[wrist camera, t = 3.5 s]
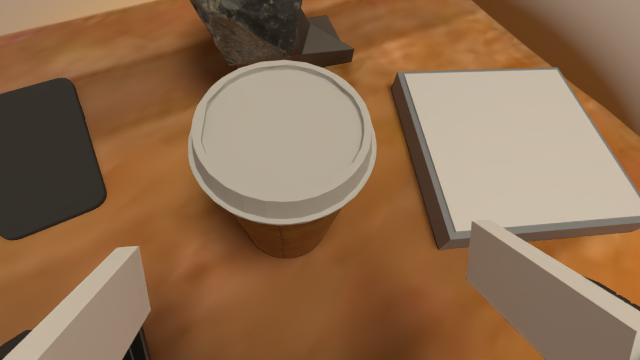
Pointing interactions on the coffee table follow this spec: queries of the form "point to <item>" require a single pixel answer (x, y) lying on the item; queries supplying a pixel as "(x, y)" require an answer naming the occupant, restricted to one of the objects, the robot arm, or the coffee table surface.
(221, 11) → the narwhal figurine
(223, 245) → the coffee table surface
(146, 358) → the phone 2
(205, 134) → the disposable coffee cup
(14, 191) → the phone
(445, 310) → the coffee table surface
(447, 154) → the plate
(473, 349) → the coffee table surface
